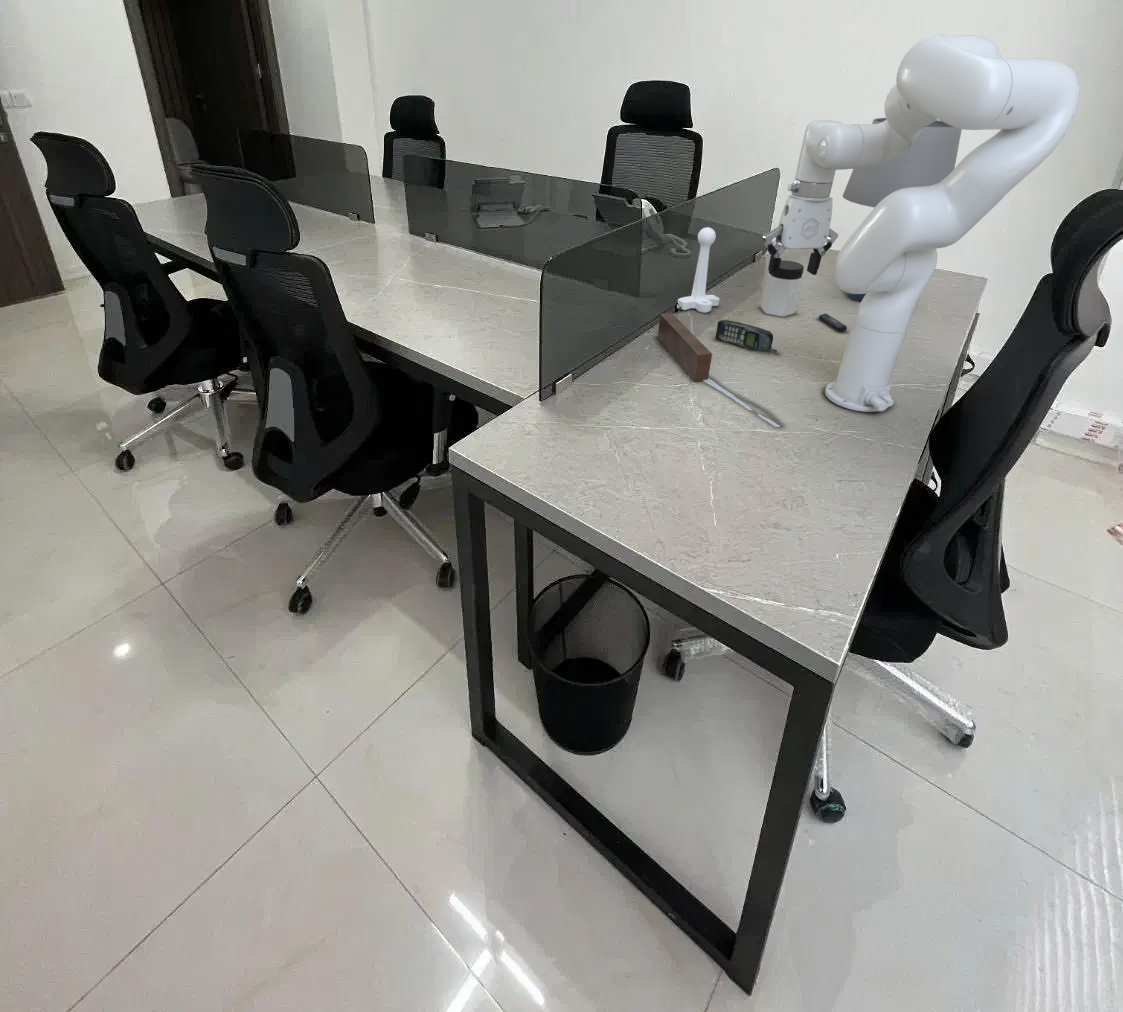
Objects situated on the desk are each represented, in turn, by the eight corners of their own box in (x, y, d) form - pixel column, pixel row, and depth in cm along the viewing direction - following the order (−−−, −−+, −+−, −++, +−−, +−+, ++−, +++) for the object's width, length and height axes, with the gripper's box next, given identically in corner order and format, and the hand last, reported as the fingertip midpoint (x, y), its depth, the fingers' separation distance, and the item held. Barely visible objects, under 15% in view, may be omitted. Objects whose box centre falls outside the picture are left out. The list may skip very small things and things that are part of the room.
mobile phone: (716, 320, 153) (777, 334, 146) (722, 317, 155) (782, 331, 148) (713, 340, 156) (773, 355, 149) (719, 337, 158) (778, 351, 151)
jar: (777, 318, 169) (788, 271, 162) (754, 309, 174) (763, 263, 167) (800, 312, 173) (812, 266, 166) (777, 303, 178) (787, 258, 171)
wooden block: (707, 380, 138) (712, 353, 135) (694, 381, 138) (698, 354, 134) (669, 337, 157) (672, 313, 153) (657, 338, 156) (660, 313, 153)
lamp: (821, 308, 176) (869, 125, 151) (815, 280, 196) (856, 114, 171) (921, 317, 172) (988, 131, 146) (904, 288, 191) (960, 119, 166)
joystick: (709, 301, 178) (722, 224, 167) (725, 310, 173) (738, 231, 161) (674, 306, 175) (684, 227, 163) (688, 315, 169) (700, 234, 157)
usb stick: (817, 319, 169) (818, 313, 168) (826, 318, 170) (827, 312, 169) (838, 332, 162) (839, 326, 161) (847, 331, 162) (849, 325, 161)
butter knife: (700, 368, 142) (689, 370, 141) (786, 425, 123) (774, 427, 122) (699, 371, 143) (688, 372, 141) (785, 427, 124) (773, 430, 122)
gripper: (781, 194, 131) (764, 281, 141) (859, 192, 134) (836, 277, 144) (764, 186, 137) (748, 270, 147) (839, 185, 140) (818, 267, 150)
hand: (792, 273), depth 145 cm, fingers open, 9 cm apart
